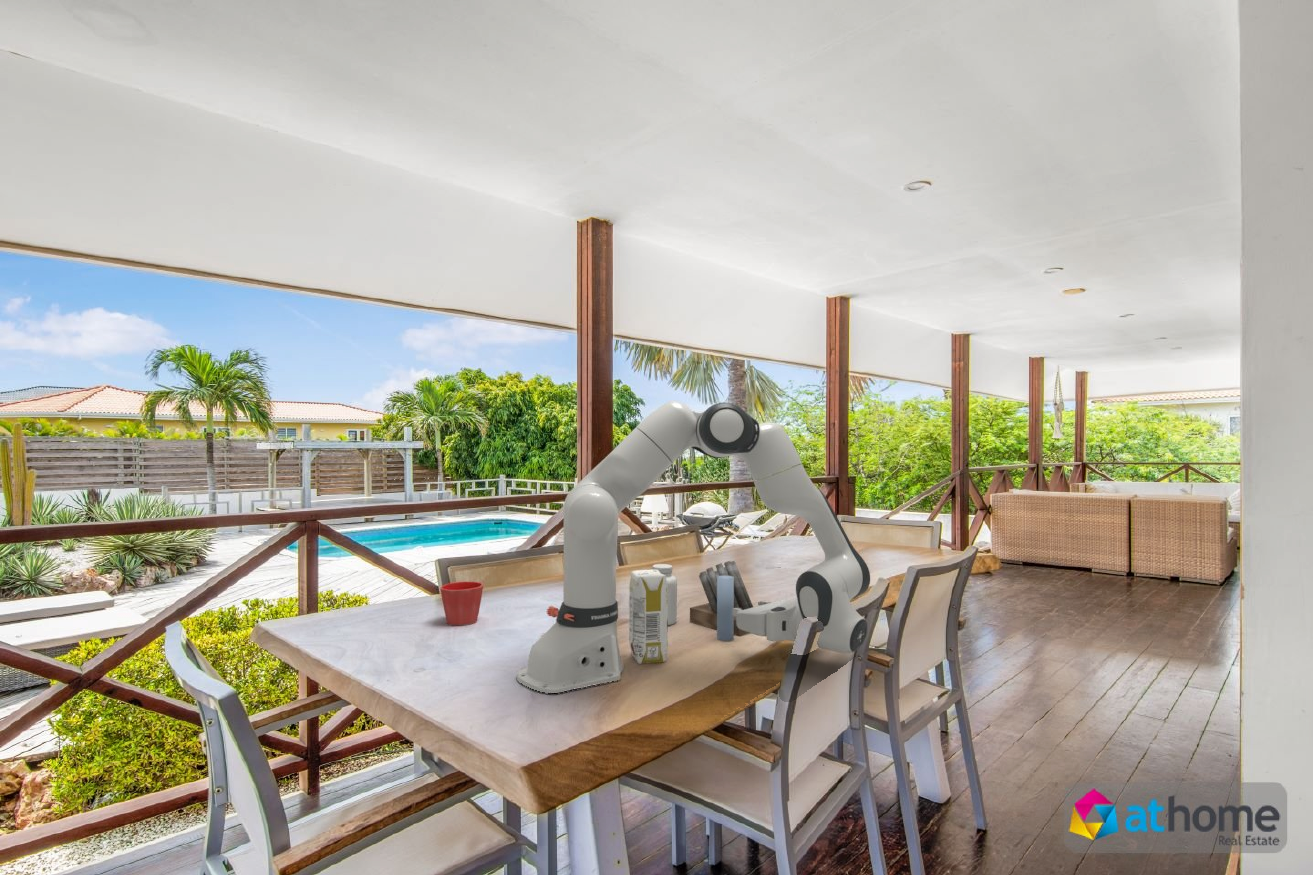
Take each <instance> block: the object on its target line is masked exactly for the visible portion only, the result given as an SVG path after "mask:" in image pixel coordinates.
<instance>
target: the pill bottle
mask: <svg viewBox="0 0 1313 875" xmlns="http://www.w3.org/2000/svg"><path fill="white" fill-rule="evenodd" d="M651 570H658V571H659V572H660V573H661V574H664V575H666V580H667V585H668V626H670V625H674V624H676V623H677V616H678V615H677V614H678V613H677V612H678V611H677V610H678V580H677V578H676V576H675V575H673V566H672V565H671V564H667V563H656V564H653V565H652V569H651Z"/></svg>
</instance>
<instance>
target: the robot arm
mask: <svg viewBox="0 0 1313 875" xmlns="http://www.w3.org/2000/svg"><path fill="white" fill-rule="evenodd" d="M690 448H692V449H693V450H696V451H697V452H700V453H701V454H703V455H705V456H707V457H710V458H713V459H725V458H726V457H730V456H737V457H739V458H740V459H741V460H743V462H744V463H745V465H746V466H747V468H748V470H749V472H750V476H751V479H752V482H753V484H754V487H755V489H756V491H757V493H758V497H759V498H760V500H761V501H762V502H763V504H764V506H765V507H767V508H768V509H770V510H771V511H774V512H776V513H779V514H783V515H791V516H797V517H798V518H799V517H800V518H801V519H803V520H804V521H806V522H807V523H808V524H809V526H810V528H811V530H812V531H813V533H814V535H815V538H816V540H817V541H818V543H819V545H820V547H821V548H822V550H823V552H824V560H823V561H822V562H820V563H818V564H816V565H814V566H813V567H810V568H809V569H807V570H806V571H804V572H803V573H801V574H800V575H799V576H798V578H797V580H796V582H795V583H796V584H795V596H796V598H797V599H796V598H790V597H789V598H784V599H781V600H780V599H779V600H775V601H766V600H762V601H761V600H760V601H759V602H758V604H757V606H753V608H749V609H745V610H742V608H738V607H737V608H733V609H732V615H733V616H735V617H736V624H737V627H738V628H739V629H741V630H743V631H746V632H749V633H748V634H752V635H756V636H759V637H766V640H767V641H769V642H774V643H775V642H787V641H788V642H794V641H795V639H796V636H797V630H798V628H799V624H800V621H801V620H802V619H804V618H807V617H814V616H817V619H818V621H821V622H822V623H823V626H824V630H823V631H822V632H821V633H820V635H819V638H818V641H817V645H818V647H817V648H820V649H824V650H827V651H831V652H835V653H843V654H852V653H855V652H857V650H859V649H860V648H861V647H862V645H864V642H865V640H866V638H867V635H868V631H869V630H868V622H867V619H866V618H865V617H863V616H862V615H861V614H860V613H859V612H858V611H857V610H856V608H855V607H854V606H853V604H852V602H851V601H852V600H853V599H855V598H858V597H859V596H860V597H861V596H862V595H864V594H865V593H866V592H867V590H868V589H869V587H870V584H871V573H870V569H869V566H868V564H867V563H866V561H865V560H864V558H863V557H862V556H861V555H860V554H859V552H858V551H857V550H856V549H855V547H854V546H853V544H852V542H851V540H850V539H849V537H848V536H847V533H846V531H845V530H844V528H843V526H842V524H841V521H840V520H839V518H838V516H837V514H836V513H835V511H834V509H833V507H832V505H831V503H830V501H829V500H828V498H827V497H826V496H825V494H824V492H823V491H822V490H821V489H820V488H819V487H816V485H815V483H814V482H813V481H812V480H811V478H810V476H809V475H808V473H807V471H806V469H805V468H804V464H803V463H802V459H801V456H800V454H799V453H798V451H797V448H796V447H795V445H794V443H793V441H792V440H791V438H790V436H789V435H788V433H787V431H786V430H785V428H784V427H783V426H782V425H781V424H779V423H777V422H772V421H770V422H769V421H767V422H760V423H759V421H757V420H756V419H755V418H754V417H752V416H751V415H750V414H749V413H747V412H746V411H745V410H744V409H743V408H741V407H740V406H738V405H737V404H734V403H732V402H726V401H725V402H717V403H715V404H712V405H711V406H709V407H707V409H706V410H705V411H702V412H696V411H694V410H692V409H691V408H690V407H689V406H687V405H686V404H685V403H682V402H681V401H677V400H670V401H667V402H665V403H664V404H663V405H660V406H659V407H658V408H656V409H655V410H654V411H652V412H651V413H650V414H649V415H648V416H646V417H645V418H643V420H642V421H640V422H639V424H638V425H637V426H636V427H634V429H632V430H631V431H630V433H629V434H628V435H626V437H625V438H624V439H623V440H621V442H620V443H619V444H618V445H617V446H616V447H615V448H613V450H612V451H611V452H610V453H609V454H607V456H605V457H604V459H602V460H601V461H600V462H599V463H598V464H597V465H596V466H595V467H593V469H591V471H589V472H588V474H586V475H585V476H584V477H583V478H582V479H581V480H580V481H579V482H578V483H577V484H576V485H575V486H574V487H573V488H571V490H570V491H569V492H568V493H567V494H566V497H565V499H564V504H563V586H562V587H563V588H562V589H563V601H562V602H561V605H560V607H559V608H557V607H554V606H552V605H550V606H548V607H547V609H546V615H547V616H549V617H552V618H556V619H555V623H554V624H553V625H552V626H550V628H549V629H548V630H547V631H546V632H545V633H544V634H543V635H542V636H541V637H540V638H539V639H538V640H537V641H536V642H535V643H534V644H532V646H531V648H530V651H529V654H528V660H527V661H528V663H527V667H524V668H523V669H520V670H517V671H516V681H517V682H519V683H520V684H521V683H522V684H523V686H524V685H525V686H524V687H526V686H527V687H526V688H528V687H529V688H528V689H530V688H531V689H530V690H532V689H534V690H533V691H535V690H537V691H536V692H538V691H540V692H539V693H542V692H545V693H544V694H548V693H557V692H563V691H565V690H569V689H574V688H578V687H584V686H588V685H593V684H598V683H604V684H608V683H607V682H609V683H612V681H614V682H617V680H618V681H620V680H621V679H620V678H621V673H622V672H623V671H624V668H625V667H624V664H623V662H622V661H623V660H622V657H621V653H620V646H619V640H618V639H619V638H618V629H617V627H618V626H617V623H618V619H619V604H618V603H619V602H618V601H617V598H616V597H617V594H616V593H617V590H616V589H617V581H616V580H617V554H618V553H617V552H618V537H619V536H618V530H619V514H620V513H621V512H622V511H623V510H625V508H626V507H628V506H629V505H630V504H631V503H633V501H635V500H636V499H637V498H639V496H640V495H642V494H643V493H645V492H646V491H647V490H649V488H650V487H651V486H652V485H653V484H654V483H655V482H656V481H657V480H658V479H659V478H660V477H661V476H662V475H663V474H664V473H665V472H666V471H667V470H668V469H669V468H670V466H672V465H673V463H675V462H676V460H677V459H678V458H679V457H680V456H681V455H682V454H684V453H685V452H686V451H687V450H689V449H690ZM795 642H796V641H795ZM522 684H521V685H522ZM563 693H564V692H563Z"/></svg>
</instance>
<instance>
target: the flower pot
mask: <svg viewBox="0 0 1313 875" xmlns="http://www.w3.org/2000/svg"><path fill="white" fill-rule="evenodd" d="M439 590H440V594H441V601H442V605H443V610H444V615H445V616H444V617H445V621H446V623H447V625H449V624H450V626H467V625H472V624H475V623H476V622H478V618H479V614H480V613H479V612H480V607H481V602H482V596H483V590H484V583H482V582H478V581H454V582H450V583H446V584H443V585H441V586H440V589H439Z"/></svg>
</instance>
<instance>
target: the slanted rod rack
mask: <svg viewBox="0 0 1313 875" xmlns="http://www.w3.org/2000/svg"><path fill="white" fill-rule="evenodd" d="M715 569H716V570H714V568H713V567H712V566H711V567H708V568H706V569H705V570H704V571H701V572H700V573H699V575H698V578H699V581H700V583H701V586H702V588H703V591H704V594H705V596H706V599H707V601H708V603H704V604H700V605H696V606H691V607H689V623H691V624H696V625H699V626H702V627H706V628H709V629H713V630H716V631H717V577H718V576H723V575H726V576H733V577H734V608H737V607H738V608H742V610H745V609H749V608H753V607H754V605H753V602H752V600H751V598H750V595H749V593H748V591H747V588H746V585H745V583H744V581H743V578H742V576H741V573H740V571H739V568H738V566H737V564H736V561H735V560H727V561H726V562H724V563H721V562H720V563H718V564H716V565H715ZM747 634H750V633H749V632H746V631H743V630H741V629H739V628H738V627H737V624H736V617H735V616H734V636H738V637H740V636H744V635H747Z"/></svg>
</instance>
